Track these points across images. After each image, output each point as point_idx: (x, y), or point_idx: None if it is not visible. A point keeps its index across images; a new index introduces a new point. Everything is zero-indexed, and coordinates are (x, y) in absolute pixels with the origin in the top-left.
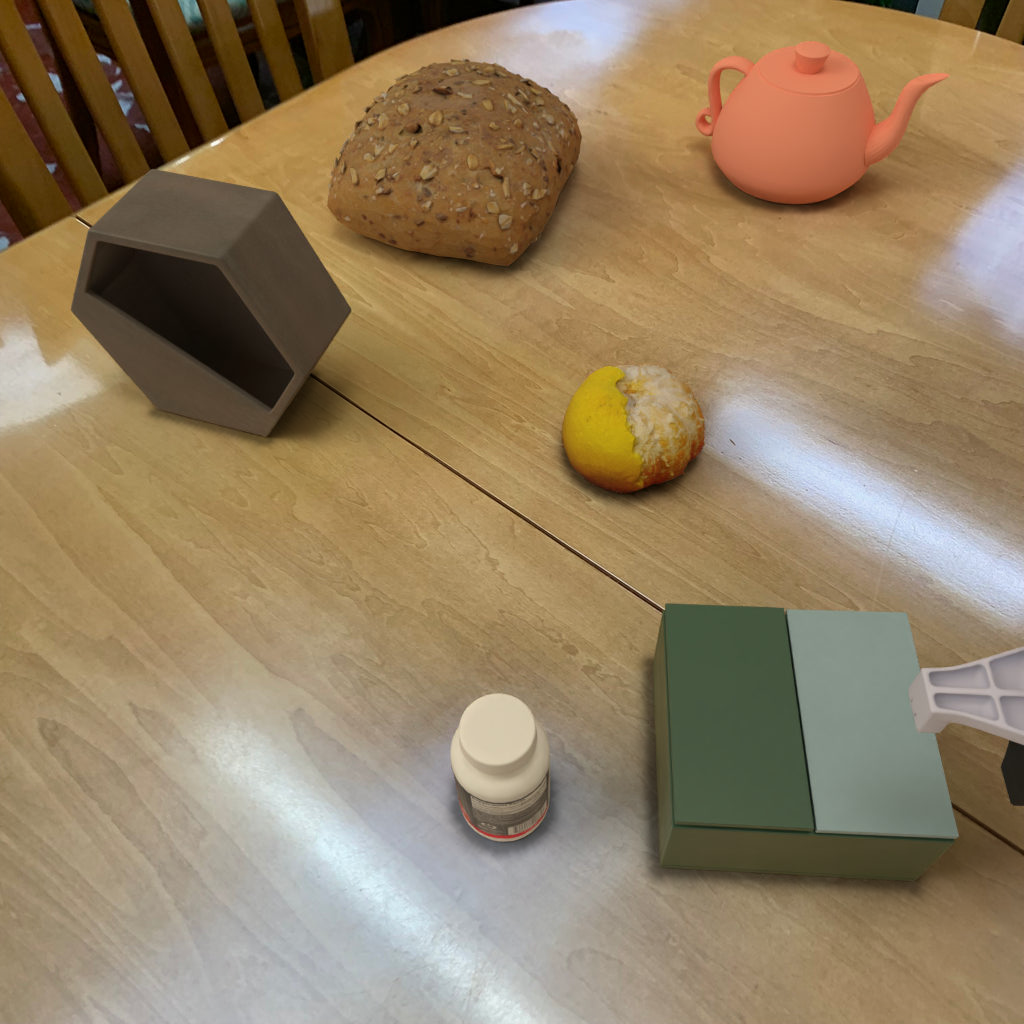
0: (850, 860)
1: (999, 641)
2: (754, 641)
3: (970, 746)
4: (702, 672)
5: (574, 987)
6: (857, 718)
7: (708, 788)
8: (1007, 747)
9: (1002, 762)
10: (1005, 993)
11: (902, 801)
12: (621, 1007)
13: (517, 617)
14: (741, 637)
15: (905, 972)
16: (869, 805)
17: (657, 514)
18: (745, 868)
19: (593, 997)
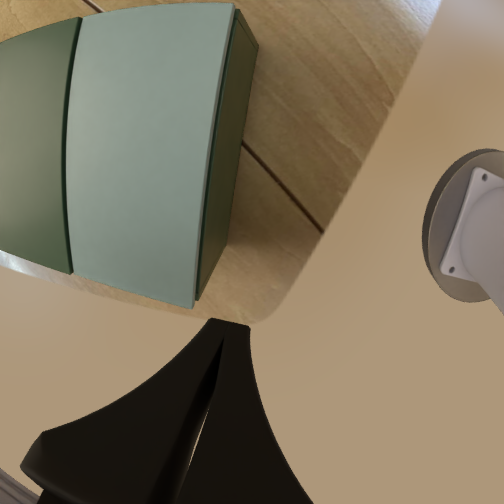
0: None
1: (406, 42)
2: (41, 68)
3: (329, 136)
4: (3, 114)
5: (35, 266)
6: (115, 164)
7: (8, 228)
8: (190, 341)
9: (206, 322)
10: (263, 319)
11: (144, 267)
12: (53, 279)
13: (9, 36)
14: (33, 66)
15: (200, 297)
16: (113, 264)
17: None
18: None
19: (43, 272)
